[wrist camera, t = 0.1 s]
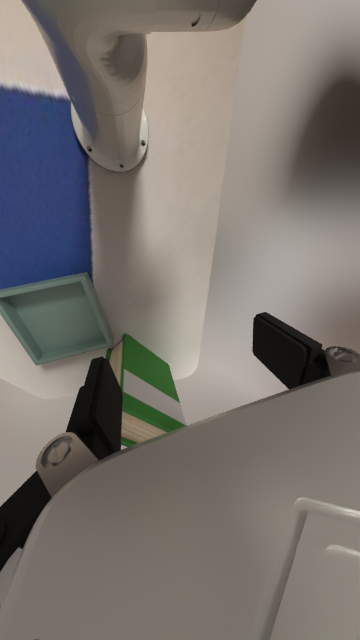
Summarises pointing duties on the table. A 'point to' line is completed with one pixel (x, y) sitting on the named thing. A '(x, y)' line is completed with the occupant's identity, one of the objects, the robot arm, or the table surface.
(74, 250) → the table surface
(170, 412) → the hardback book
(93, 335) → the tray
